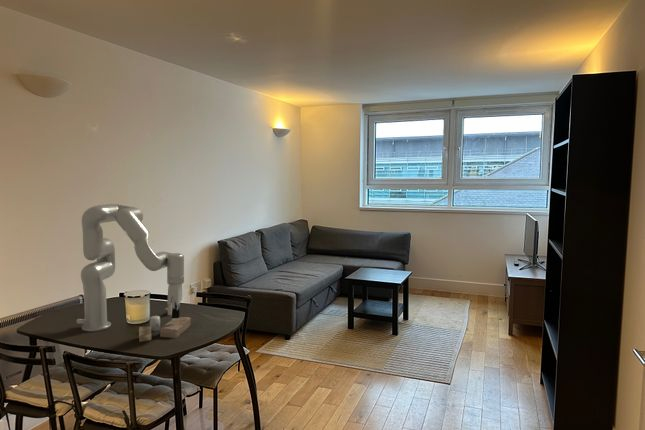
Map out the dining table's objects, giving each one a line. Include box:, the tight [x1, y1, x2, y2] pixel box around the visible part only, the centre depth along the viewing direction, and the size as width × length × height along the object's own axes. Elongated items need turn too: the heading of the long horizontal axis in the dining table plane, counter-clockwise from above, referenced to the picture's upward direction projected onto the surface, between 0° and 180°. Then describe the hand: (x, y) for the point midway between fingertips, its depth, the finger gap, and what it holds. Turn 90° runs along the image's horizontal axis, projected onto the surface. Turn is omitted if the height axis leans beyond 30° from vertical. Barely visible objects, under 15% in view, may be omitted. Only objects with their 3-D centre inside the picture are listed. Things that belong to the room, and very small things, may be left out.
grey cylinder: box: [149, 315, 161, 332], centre depth 213 cm, size 5×5×6 cm
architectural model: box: [164, 303, 172, 316], centre depth 237 cm, size 3×7×7 cm, turn 170°
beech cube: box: [138, 325, 152, 342], centre depth 201 cm, size 5×5×5 cm
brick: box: [159, 316, 192, 339], centre depth 211 cm, size 17×8×5 cm, turn 173°
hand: (175, 317), depth 210 cm, fingers closed
